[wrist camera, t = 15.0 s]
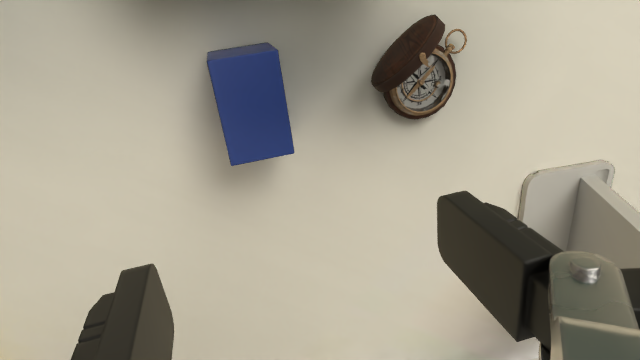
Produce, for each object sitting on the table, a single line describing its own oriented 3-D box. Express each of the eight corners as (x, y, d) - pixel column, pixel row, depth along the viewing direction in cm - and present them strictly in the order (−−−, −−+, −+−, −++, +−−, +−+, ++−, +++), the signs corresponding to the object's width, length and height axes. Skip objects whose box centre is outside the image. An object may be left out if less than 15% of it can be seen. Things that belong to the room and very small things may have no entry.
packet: (228, 144, 33) (231, 166, 29) (207, 51, 30) (206, 60, 26) (283, 133, 34) (294, 153, 29) (268, 42, 31) (277, 49, 26)
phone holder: (580, 296, 50) (757, 438, 34) (503, 314, 48) (651, 474, 32) (611, 158, 43) (854, 254, 27) (522, 173, 41) (725, 286, 25)
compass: (415, 131, 36) (460, 160, 30) (351, 71, 33) (385, 89, 27) (481, 57, 35) (542, 70, 29) (420, -13, 32) (474, -16, 25)
